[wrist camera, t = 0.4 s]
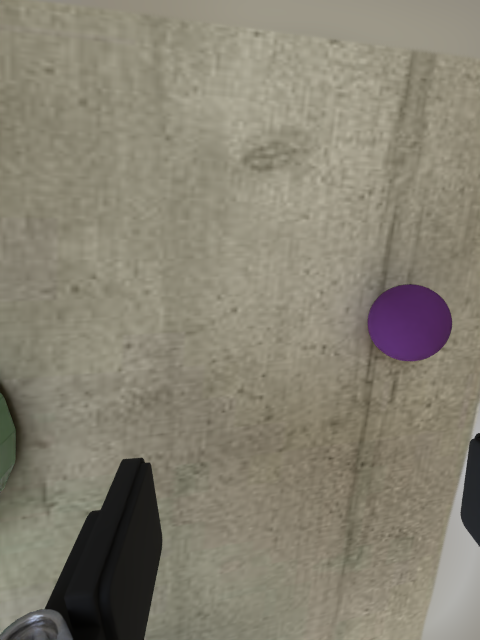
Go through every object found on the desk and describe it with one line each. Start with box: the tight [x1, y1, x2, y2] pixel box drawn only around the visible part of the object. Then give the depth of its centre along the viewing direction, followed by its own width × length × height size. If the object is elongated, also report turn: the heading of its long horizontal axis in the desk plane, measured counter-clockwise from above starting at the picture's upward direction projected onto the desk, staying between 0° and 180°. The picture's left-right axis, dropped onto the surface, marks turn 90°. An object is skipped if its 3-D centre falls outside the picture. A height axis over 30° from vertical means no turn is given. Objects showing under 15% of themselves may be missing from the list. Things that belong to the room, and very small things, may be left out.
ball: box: [368, 284, 452, 361], centre depth 21 cm, size 4×4×4 cm
